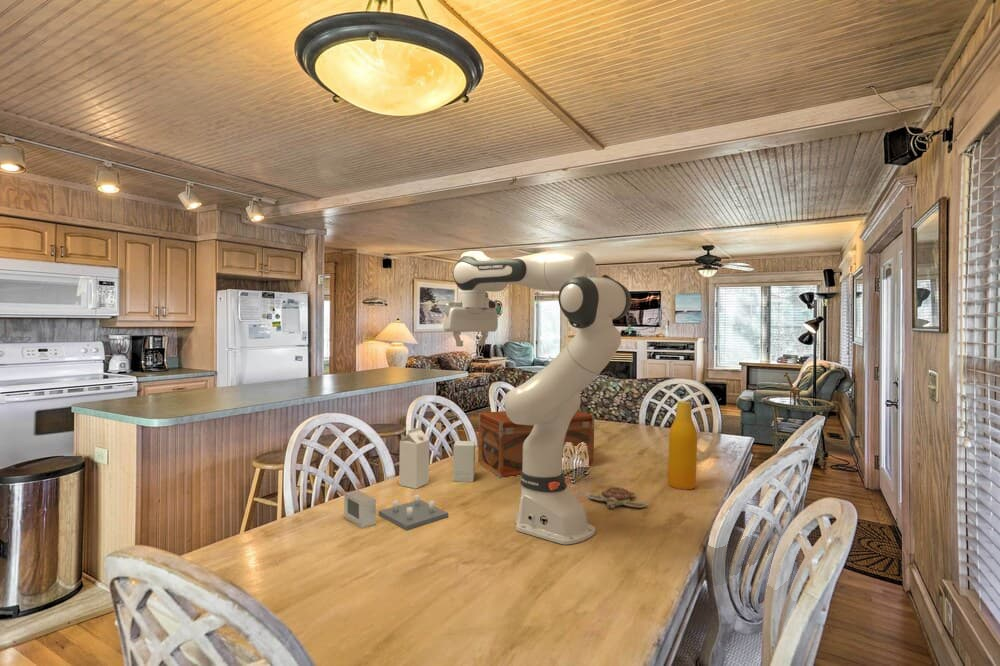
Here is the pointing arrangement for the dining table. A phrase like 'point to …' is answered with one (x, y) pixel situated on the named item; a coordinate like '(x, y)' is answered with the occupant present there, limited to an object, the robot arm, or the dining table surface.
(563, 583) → the dining table surface
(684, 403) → the beer bottle
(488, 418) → the wooden box
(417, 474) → the milk carton
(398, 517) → the pin tray
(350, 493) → the block
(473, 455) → the supplement box
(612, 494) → the decorative turtle
